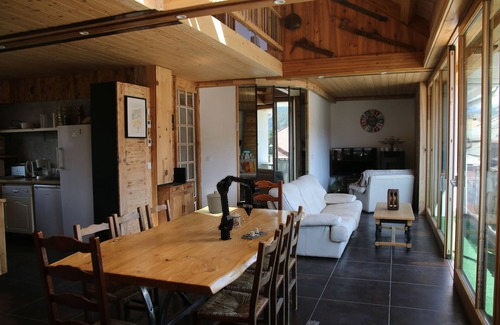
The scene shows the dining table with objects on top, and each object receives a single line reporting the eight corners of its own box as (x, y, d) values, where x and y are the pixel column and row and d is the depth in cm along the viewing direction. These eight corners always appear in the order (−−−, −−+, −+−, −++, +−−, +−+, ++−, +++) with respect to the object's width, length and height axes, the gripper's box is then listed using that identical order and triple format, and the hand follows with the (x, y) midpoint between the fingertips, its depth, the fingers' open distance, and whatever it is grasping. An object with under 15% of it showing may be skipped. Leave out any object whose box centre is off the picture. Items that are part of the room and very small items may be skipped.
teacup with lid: (228, 228, 298) (228, 213, 297) (230, 225, 307) (230, 211, 306) (243, 228, 296) (243, 213, 296) (245, 225, 305) (245, 211, 305)
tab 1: (252, 237, 262) (252, 232, 262) (249, 236, 264) (249, 231, 264) (255, 236, 265) (255, 231, 264) (252, 235, 266) (251, 230, 266)
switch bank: (251, 239, 260) (251, 237, 260) (241, 238, 265) (241, 235, 265) (267, 234, 274) (267, 231, 274) (257, 233, 279) (257, 230, 279)
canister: (218, 210, 380) (217, 189, 379) (229, 212, 366) (228, 190, 365) (202, 212, 368) (202, 190, 367) (213, 215, 354) (212, 192, 353)
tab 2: (256, 233, 273) (256, 228, 272) (253, 232, 274) (253, 228, 274) (259, 232, 275) (259, 228, 275) (256, 232, 277) (255, 227, 277)
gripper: (265, 194, 281) (265, 215, 281) (245, 193, 292) (245, 213, 293) (256, 196, 272) (256, 218, 273) (235, 194, 283) (236, 215, 284)
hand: (249, 216), depth 281 cm, fingers closed
